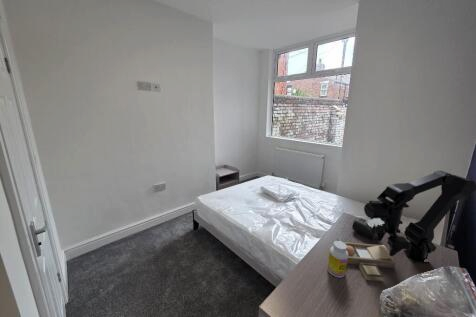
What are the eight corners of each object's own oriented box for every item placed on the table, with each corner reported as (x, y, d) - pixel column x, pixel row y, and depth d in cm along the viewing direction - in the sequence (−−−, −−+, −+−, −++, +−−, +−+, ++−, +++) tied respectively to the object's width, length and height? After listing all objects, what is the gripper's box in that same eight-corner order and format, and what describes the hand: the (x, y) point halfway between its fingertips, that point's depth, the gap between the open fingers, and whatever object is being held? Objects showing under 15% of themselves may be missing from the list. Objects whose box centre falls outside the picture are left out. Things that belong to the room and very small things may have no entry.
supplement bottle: (337, 281, 76) (342, 253, 73) (323, 268, 82) (327, 242, 79) (349, 274, 79) (353, 247, 76) (334, 262, 85) (338, 237, 81)
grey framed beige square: (374, 268, 82) (375, 264, 81) (382, 281, 76) (383, 276, 75) (359, 267, 82) (359, 262, 82) (365, 279, 77) (366, 274, 76)
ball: (344, 252, 91) (340, 245, 91) (354, 249, 90) (350, 241, 89) (348, 259, 87) (344, 252, 86) (358, 256, 86) (354, 248, 85)
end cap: (351, 232, 105) (352, 221, 103) (357, 227, 109) (359, 216, 107) (372, 242, 97) (374, 230, 95) (378, 236, 101) (380, 225, 99)
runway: (381, 250, 91) (383, 241, 90) (394, 268, 82) (396, 258, 80) (336, 246, 94) (337, 237, 93) (343, 263, 85) (345, 253, 83)
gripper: (360, 203, 91) (355, 232, 95) (382, 228, 73) (375, 262, 78) (387, 205, 89) (381, 234, 94) (416, 230, 72) (407, 265, 76)
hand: (384, 248), depth 85 cm, fingers open, 9 cm apart
